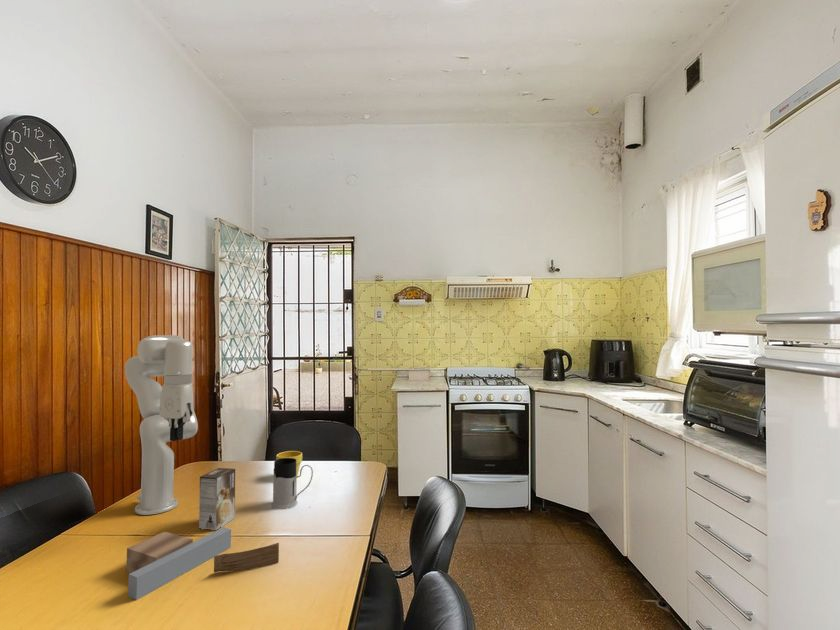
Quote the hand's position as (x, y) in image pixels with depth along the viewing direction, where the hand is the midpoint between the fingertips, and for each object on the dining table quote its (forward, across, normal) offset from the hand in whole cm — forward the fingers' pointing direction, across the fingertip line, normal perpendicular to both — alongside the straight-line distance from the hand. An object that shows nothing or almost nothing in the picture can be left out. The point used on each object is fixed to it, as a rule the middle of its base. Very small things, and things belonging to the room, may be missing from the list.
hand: (176, 439), depth 132 cm
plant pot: (+27, 0, +51) cm, 58 cm away
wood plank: (+27, +38, -7) cm, 47 cm away
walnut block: (+27, +17, -16) cm, 35 cm away
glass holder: (+27, +20, +30) cm, 45 cm away
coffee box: (+27, +9, +8) cm, 30 cm away
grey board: (+27, +24, -14) cm, 38 cm away
